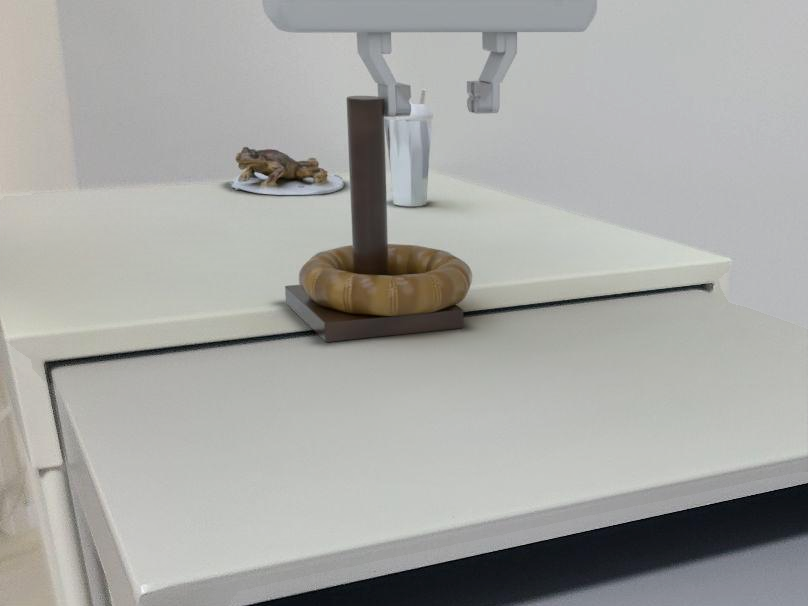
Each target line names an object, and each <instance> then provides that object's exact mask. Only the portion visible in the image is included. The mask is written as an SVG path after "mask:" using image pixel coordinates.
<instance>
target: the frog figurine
mask: <svg viewBox="0 0 808 606" xmlns="http://www.w3.org/2000/svg"><path fill="white" fill-rule="evenodd" d="M235 161H236V163H237V164H238V165H237V168H238V169H239V170H241V171H243V172H242V173H240V174H238V175H237V176H234V177H233V178H232V179H231V181H232V182H231V181H230V182H229V184H230V186H231V188H233V189H235V191H236V190H237V191H238V190H241V191H246V192H248V193H255V194H261V195H274V196H275V195H277V196H293V195H294V196H296V195H297V196H298V195H299V196H301V195H302V196H306V195H308V196H309V195H324V194H330V193H335V192H336V191H337V192H338V191H340V190H342V189H343V188H344V185H345V184H344V183H345V182H344V180H343V177H342V176H340V175H337V174H334V175H333V176H331V175H328V172H329V171H328V170H326V169H324V168H321V167H319V164H320V163H319V161H318V160H317V158H315V157H308V159H307V160H298V161H297V160H295V159H293V158H292V157H290V156H289V155H288V154H286V153H284V152H281V151H280V150H279V149H278V150H277V149H271V148H269V149H268V148H267V149H259V150H257V149H254V148H249V147H248V146H245V147H244V146H243V147H242V149H241V151H240V152H238V153H236V156H235Z"/></svg>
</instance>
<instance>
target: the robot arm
mask: <svg viewBox="0 0 808 606" xmlns="http://www.w3.org/2000/svg"><path fill="white" fill-rule="evenodd" d="M261 2H262V3H261V4H262V8H263V11H264V14H265V15H266V17H267V19H269V21H270V22H271V23H272V24H273V26H274V27H275V28H276V29H277V30H279V31H282V32H286V33H295V34H296V33H298V34H299V33H300V34H301V33H305V34H306V33H307V34H309V33H314V34H315V33H316V34H317V33H319V34H320V33H321V34H322V33H324V34H327V33H333V34H335V33H338V34H339V33H356V48H357V54H358V55H359V57H360V59H361V61H362V63H363V64H364V66H365V67H366V69H367V71H368V73H369V74H370V76H371V78H372V80H373V81H374V83H376V84H377V97H382V98H383V99H384V116H385V117H401V116H410V114H411V104H410V103H411V102H410V99H411V97H412V94H411V93H412V92H411V85H410V84H406V83H402V82H397V80H396V78H395V77H394V74H393V72H392V71H391V69H390V67H389V65H388V63H387V61H386V60H385V57H384V55H390V54H391V53H392V33H482V36H481V37H482V38H481V39H482V44H481V45H482V50H483V51H486V52H489V55H488V57H487V59H486V61H485V64H484V66H483V68H482V71H481V73H480V75H479V77H478V80H467V81H466V94H467V96H468V97H467V100H466V107H467V110H468V112H469V113H472V114H473V113H474V114H498V113H499V111H500V103H501V102H500V101H501V100H500V99H501V96H500V91H501V90H500V87H501V85H500V84H502V83H503V81H504V79H505V77H506V75H507V73H508V72H509V69H510V67H511V66H512V63H513V62H514V60H515V58H516V55H517V53H518V33H583V32H585V31H587V29H588V28H589V27H590V25H591V23H592V22H593V20H594V18H595V17H596V15H597V10H598V0H261ZM409 102H410V103H409Z"/></svg>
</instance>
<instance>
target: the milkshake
mask: <svg viewBox="0 0 808 606" xmlns="http://www.w3.org/2000/svg"><path fill="white" fill-rule="evenodd" d="M426 94H427V89H421V95H420V98H419V99H420V100H419V103H414V102H411V101H409V103H410V104H411V114H410V116H401V117H385V116H384V123H385V140H386V146H387V152H388V153H387V154H388V165H389V175H390V185H391V194H392V203H393V205H395V206H398V207H399V206H400V207H411V208H412V207H413V208H414V207H422V206H425V205H427V204H428V203H427V202H428V186H429V185H428V184H429V183H428V182H429V168H430V153H431V152H430V151H431V142H432V141H431V140H432V129H433V116H434V114H433V112H432V110H431V109H430V108H429V107H428V106H427V105H425V102H426V96H427V95H426Z"/></svg>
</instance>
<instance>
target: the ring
mask: <svg viewBox="0 0 808 606" xmlns="http://www.w3.org/2000/svg"><path fill="white" fill-rule="evenodd" d="M388 273H389V276H385V275H367V274H355V273H354V266H353V244H352V245H343V246H340V247H336V248H331V249H327V250H322V251H319V252H316V253H315V254H313V256H312V257H311V258H309V259H308V260H307V261H306V262H305V263H304V264H303V265H302V266H301V268H300V270H299V273H298V283H299V285H300V286H301V288H302V289H303V291H304V292H305V293H306V294H307V295H308V296H309V297H311V298H312V299H313V300H314V301H315V302H316V303H317V304H319V305H321V306H323V307H327V308H331V309H335V310H339V311H343V312H347V313H351V314H361V315H379V316H402V315H412V314H422V313H431V312H435V311H438V310H441V309H444V308H447V307H449V306H452V305H455V304H456V305H457V304H460V303H461V302H462V301H463V300H464V299H465V298H466V297H467V295H468V292H469V290H470V288H471V286H472V283H473V273H472V270H471V267H470V266H469V264H468V263H466V261H464V260H463V259H461V258H459V257H457V256H455V255H454V254H453V253H450V252H448V251H446V250H442V249H435V248H432V247H426V246H422V245H416V244H400V243H399V244H398V243H388Z"/></svg>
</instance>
